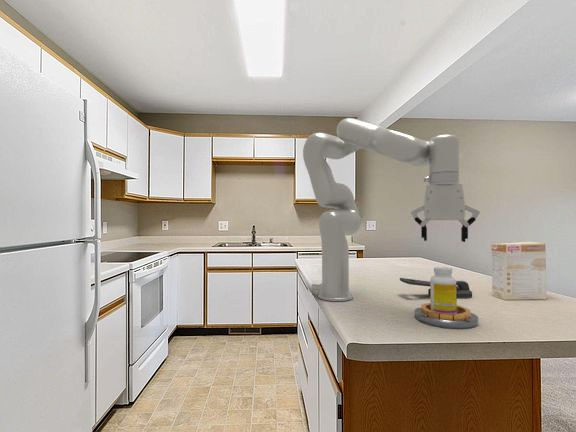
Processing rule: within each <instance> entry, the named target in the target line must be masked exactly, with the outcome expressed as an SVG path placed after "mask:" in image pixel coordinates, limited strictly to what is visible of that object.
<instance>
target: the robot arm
mask: <svg viewBox="0 0 576 432" xmlns="http://www.w3.org/2000/svg"><path fill="white" fill-rule="evenodd" d="M336 134H337V135H335V136H334V135H332V134H330V133H329V134H328V133H325V132H314V133H312V134H310V135H309V136H308V137H307V138H306V140H305V143H304V144H303V150H302V158H303V162H304V165H305V169H306V171H307V173H308V176H309V180H310V185H311V188H312V190H313V194H314V198H315V200H316V203H317V205H318V206H320V207H321V208H326V209H327V208H330V209H328V210H326V211H324V212H322V214H321V215H320V217H319V220H318V221H319V222H318V228H319V234H320V240H321V283H320V284H315V283H312V284H311V285H310V286H311V290H312V291H318V293H317V297H318V298H319V300H320V299H321V300H323V301H326V302H327V301H329V302H346V301H351V300H354V294H353V292H350V285H349V284H350V275H349V274H350V269H349V267H350V266H349V264H350V262H349V260H350V259H349V257H350V256H349V255H350V254H349V253H350V252H349V243H348V240H347V237H346V236H349V235H354V234H355V233H357V232H358V231H359V229H360V228H361V217H360V213H359V209H358V206H357V204H356V203H357V202H356V201H355V197H354V194H353V192H352V190H351V188H350V187H348V186H347V185H346V184H344V183H340V182H339V183H338V182H336V180H335V178H334V175H333V170H332V169H331V167H330V165H329V163H328V162H327V161H326V159H331V160H341V159H344V158H346V157H347V156H350V155H351V154H353V153H355V152H357V151H359V150H361V149H363V150H365V151H368V152H371V153H373V154H375V153H377V154H378V155H381V156H383V157H388V158H390V159H393V160H395V161H398V162H402V163H405V164H408V165H412V166H415V167H424V166H425V167H426V166H429V167H428V169H429V170H428V171H429V173H428V176H423V182H427V183H428V185H426V188H425V193H424V205H422V206H420V207H418V208H416V209H413V210H411V212H410V214H411V216H412V218H413V220H414V221H415V222H416V223H417V224H418V225H419V226H421V231H420V232H421V239H423V241H424V242H426V241H427V240H428V238H427V237H428V236H427V235H428V234H427V233H428V227H427V224H428V222H430V221H458V222H459V223H460V224H461V225H462V227H461V228H460V230H461V231H460V233H461V236H460V238H461V239H460V240H461V243H463V242H464V243H466V240H468V239H469V227H471V225H472V224H473V223H474V222H476V220H477V218H478V216H479V215H480V210H478V209H476V208H473V207H471V206H469V205H467V204H465V203H466V202H465V191H464V187H463V184H462V183H460V142H459V141H460V140H459V138H458V136H457V135H455V134H440V135H436V136H434V137H431V138H430V140H429V141H428V140H423V139H420V138H418V137H415V136H412V135H410V134H405V133H403V132H399V131H395V130H392V129H388V128H385V127H384V126H382V125H378V124H375V123H370V122H367V121H364V120H361V119H358V118H353V117H347V118H344V119H342V120H340V122H338V124H337V126H336ZM421 212H424V213H423V215H424V219H423V220H421V218H420V217H419V216H418V214H419V213H421ZM466 212H468V213H470V214H471V216H470V218H469V219H468V220H466V219H465V217H466Z"/></svg>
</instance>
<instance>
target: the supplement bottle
mask: <svg viewBox="0 0 576 432" xmlns="http://www.w3.org/2000/svg"><path fill="white" fill-rule="evenodd" d="M433 273H434V275H433V276H431V277H430V280H429V282H430V288H429V289H430V296H429V298H430V303H431V311H434V312H439V313H446V314H457V305H458V303H457V300H458V299H457V295H456V286H457V285H456V281H457V279H455V278H454V277H453V276H452V274H453V268H452V267H448V266H435V267H433Z"/></svg>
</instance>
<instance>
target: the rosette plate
mask: <svg viewBox="0 0 576 432" xmlns="http://www.w3.org/2000/svg"><path fill="white" fill-rule="evenodd" d="M414 319H416V320H417V321H418V322H420V323H422V324H425V325H427V326H428V325H429V326H432V327H435V328H436V327H437V328H441V329H442V328H443V329H448V330H449V329H452V330H469V329H473V328H476V327H479V316H478V315H477V314H475V313H473V312H471V309H469V308H467V307H465V306H462V305H458V304H457V314H446V313H439V312H434V311H431V302H428V303H427V302H426V303H423V304H421V305H420V307H417V308H416V309H414Z"/></svg>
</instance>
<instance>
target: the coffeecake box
mask: <svg viewBox="0 0 576 432" xmlns="http://www.w3.org/2000/svg"><path fill="white" fill-rule="evenodd" d="M546 266H547V265H546V243H545V242H544V243H543V242H536V241H525V242H524V241H520V242H519V241H518V242H517V241H516V242H514V241H511V242H507V241H506V242H491V284H492V285H491V288H492V289H491V292H492V297H495V298H499V299H501V300H504V301H510V300H511V301H515V300H517V301H521V300H526V301H527V300H547V271H546V270H547V269H546V268H547V267H546Z"/></svg>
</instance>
